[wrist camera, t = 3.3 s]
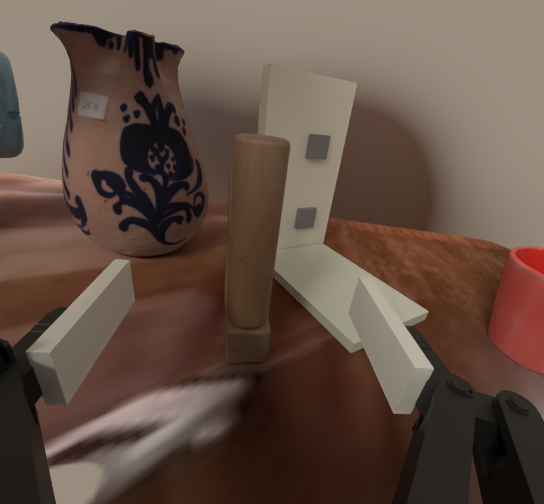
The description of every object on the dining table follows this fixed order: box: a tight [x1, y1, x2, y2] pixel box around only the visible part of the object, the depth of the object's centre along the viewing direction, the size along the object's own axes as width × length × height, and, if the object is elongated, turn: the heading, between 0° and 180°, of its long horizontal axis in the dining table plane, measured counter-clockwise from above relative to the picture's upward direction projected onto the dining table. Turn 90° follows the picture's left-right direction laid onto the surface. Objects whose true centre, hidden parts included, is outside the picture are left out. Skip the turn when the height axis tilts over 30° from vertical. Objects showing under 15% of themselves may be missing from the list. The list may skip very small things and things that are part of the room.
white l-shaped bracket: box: [258, 64, 429, 353], centre depth 32 cm, size 21×13×24 cm, turn 31°
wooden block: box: [225, 134, 290, 364], centre depth 25 cm, size 4×11×18 cm, turn 9°
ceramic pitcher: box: [50, 21, 208, 256], centre depth 37 cm, size 18×21×25 cm
